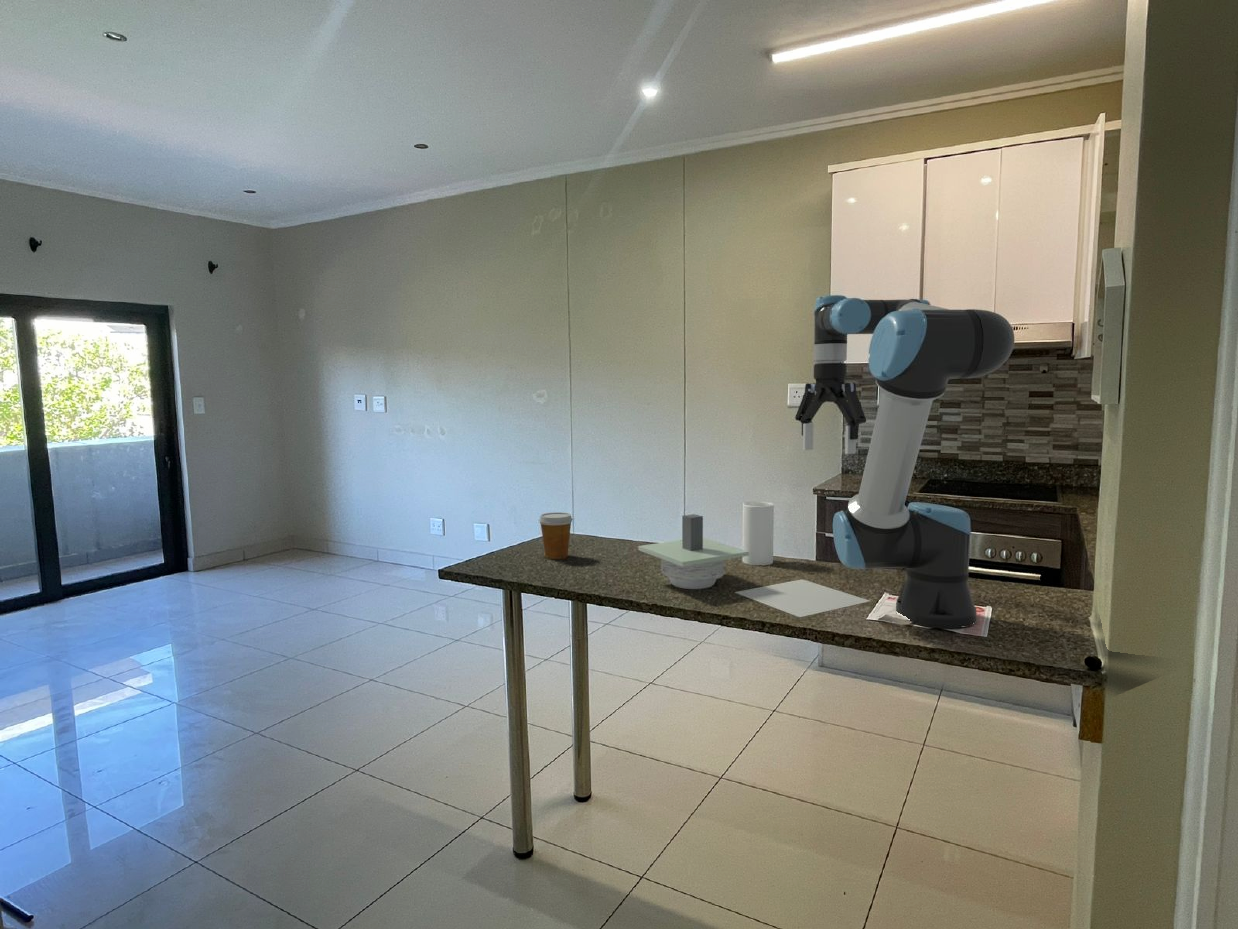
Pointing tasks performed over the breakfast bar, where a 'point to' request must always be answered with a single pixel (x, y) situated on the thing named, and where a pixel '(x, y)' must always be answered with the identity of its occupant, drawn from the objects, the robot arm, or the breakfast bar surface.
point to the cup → (758, 532)
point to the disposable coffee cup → (556, 534)
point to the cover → (692, 546)
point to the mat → (802, 597)
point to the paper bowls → (693, 574)
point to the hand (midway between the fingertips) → (828, 451)
